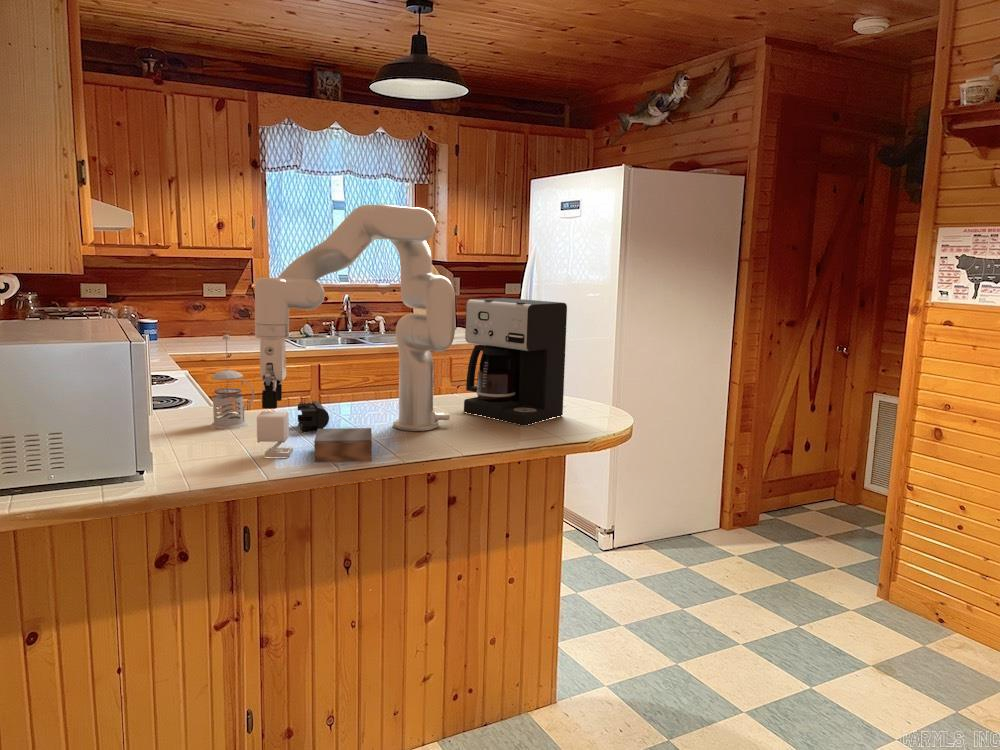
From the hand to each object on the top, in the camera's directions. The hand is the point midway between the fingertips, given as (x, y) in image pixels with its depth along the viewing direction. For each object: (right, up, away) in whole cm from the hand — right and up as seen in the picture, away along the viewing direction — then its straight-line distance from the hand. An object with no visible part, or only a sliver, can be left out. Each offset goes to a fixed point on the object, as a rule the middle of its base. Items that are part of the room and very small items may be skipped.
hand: (272, 404), depth 176 cm
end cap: (+2, -8, +30) cm, 31 cm away
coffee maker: (+56, -5, +55) cm, 78 cm away
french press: (-20, -7, +31) cm, 38 cm away
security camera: (0, -12, +2) cm, 13 cm away
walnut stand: (+16, -12, +4) cm, 21 cm away
